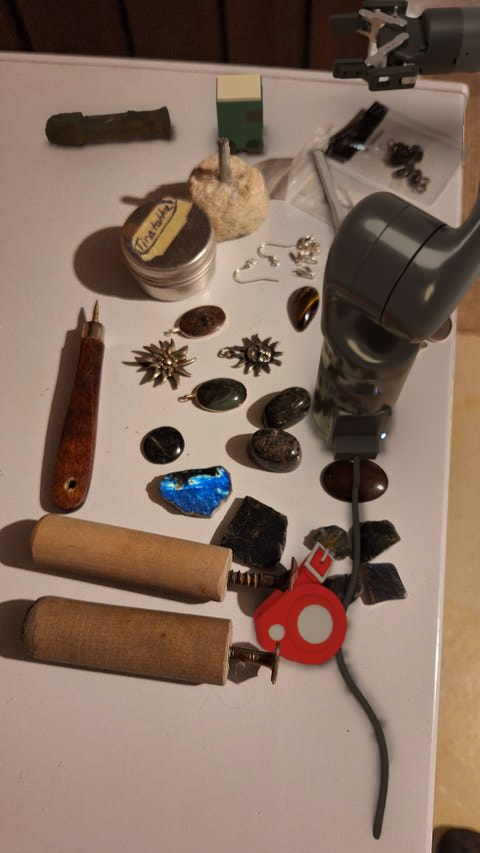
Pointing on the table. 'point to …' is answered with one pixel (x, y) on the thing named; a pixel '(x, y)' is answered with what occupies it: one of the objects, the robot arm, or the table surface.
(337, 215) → the caliper
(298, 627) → the tracker holder
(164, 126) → the hand tool
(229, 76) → the camper van
